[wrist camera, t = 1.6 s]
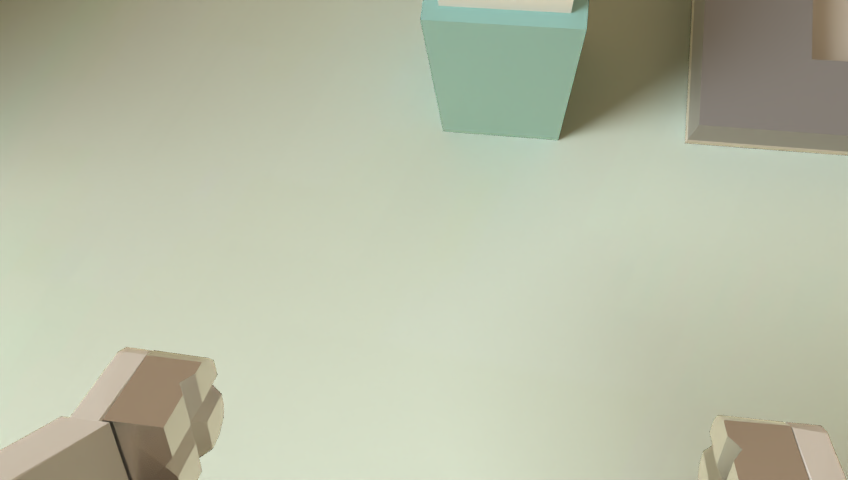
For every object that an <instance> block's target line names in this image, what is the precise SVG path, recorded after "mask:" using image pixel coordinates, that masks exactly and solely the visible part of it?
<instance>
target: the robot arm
mask: <svg viewBox="0 0 848 480" xmlns="http://www.w3.org/2000/svg"><path fill="white" fill-rule="evenodd" d="M216 377H217V371H216V367H215V363H214V360H212V359H210V358H206V357H199V356H191V355H184V354H177V353H170V352H163V351H156V350H154V351H152V350H144V349H137V348H130V347H125V348H124V349H122V350H120V351H119V352H117V354H116V355H115V356H114V358H113V359H112V360H111V362H110V363H109V364H108V366H107V367H106V369H105V370H104V371H103V373H102V374H101V375H100V377H99V378H98V379H97V381H96V382H95V383H94V385H93V386H92V388H91V389H90V390H89V392H88V393H87V394H86V396H85V397H84V398H83V400H82V401H81V402H80V404H79V405H78V406H77V408H76V409H75V411H74V412H73V413H72V415H71V416H70V417H63V416H61V417H59V418H57V419H56V420H54V421H52V422H50V423H48V424H47V425H45V426H43V427H41V428H39V429H38V430H36V431H34V432H32V433H30V434H29V435H27V436H25V437H23V438H21V439H20V440H18V441H16V442H14V443H12V444H11V445H9V446H7V447H5V448H3V449H2V450H0V480H198V478H199V476H200V474H201V472H202V468H201V464H200V459H199V458H200V457H201V456H203V455H204V454H206V453H207V452H209V451H210V450H212V449H213V447H214V445H215V443H216V441H217V439H218V437H219V435H220V430H221V426H222V422H223V418H224V404H223V398H222V394H221V393H220V392H219V391H218V390H217V389H216V388H215V387H214V386H213V385H212V384H213V382H214V380H215V379H216ZM709 432H710V437H711V442H712V446H710V447H709V448H707V449H706V450H704V451H703V453H702V456H701V460H700V463H699V469H698V480H846V477H845V475H844V472H843V470H842V467H841V465H840V462H839V460H838V457H837V455H836V453H835V450H834V448H833V445H832V443H831V440H830V438H829V435H828V433H827V431H826V430H825V429H824V428H823V427H822V426H820V425H810V424H800V423H791V422H786V423H784V422H781V421H772V420H762V419H752V418H743V417H733V416H723V415H717V417H716V418H715V419H714V420H713V423H712V426H711V429H710V431H709Z"/></svg>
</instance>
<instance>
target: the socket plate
mask: <svg viewBox="0 0 848 480" xmlns="http://www.w3.org/2000/svg"><path fill="white" fill-rule="evenodd" d="M685 143H689V144H703V145H716V146H729V147H743V148H756V149H769V150H782V151H796V152H809V153H822V154H836V155H848V0H692V13H691V32H690V52H689V72H688V92H687V112H686V132H685Z"/></svg>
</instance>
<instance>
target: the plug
mask: <svg viewBox="0 0 848 480" xmlns="http://www.w3.org/2000/svg"><path fill="white" fill-rule="evenodd" d="M588 7H589V0H423V3H422V11H421V19H420V20H421V25H422V30H423V35H424V40H425V45H426V50H427V54H428V59H429V64H430V69H431V74H432V79H433V84H434V89H435V93H436V98H437V103H438V108H439V113H440V118H441V123H442V128H443V131H446V132H459V133H472V134H485V135H498V136H511V137H524V138H537V139H550V140H558V139H559V135H560V131H561V128H562V124H563V120H564V116H565V112H566V108H567V104H568V100H569V97H570V93H571V89H572V85H573V81H574V77H575V73H576V69H577V66H578V62H579V58H580V54H581V50H582V46H583V42H584V38H585V34H586V31H587V20H588Z"/></svg>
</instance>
